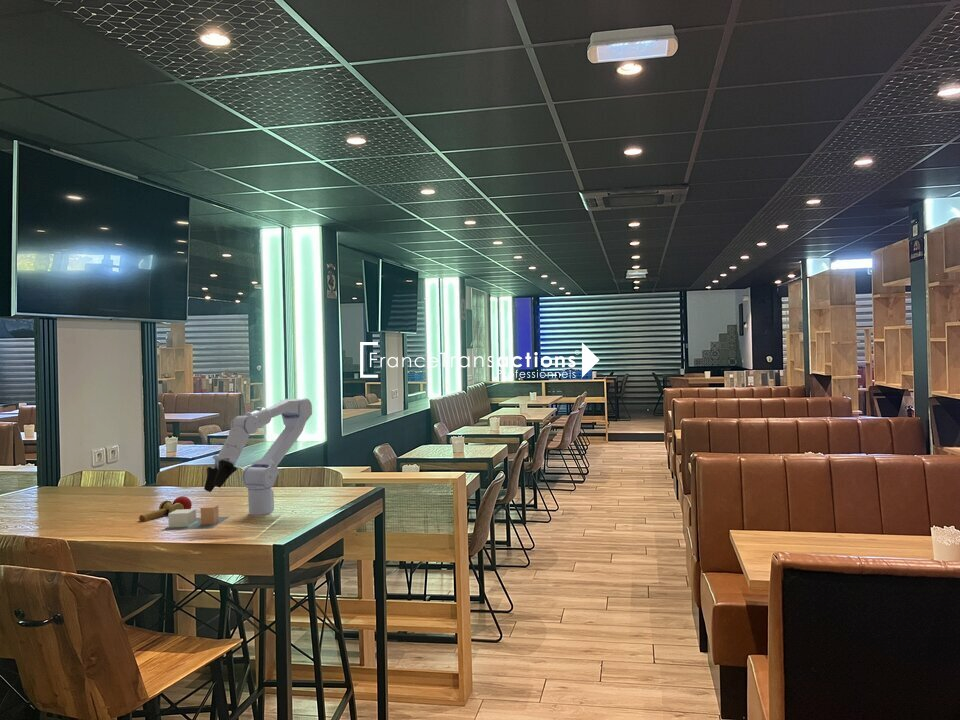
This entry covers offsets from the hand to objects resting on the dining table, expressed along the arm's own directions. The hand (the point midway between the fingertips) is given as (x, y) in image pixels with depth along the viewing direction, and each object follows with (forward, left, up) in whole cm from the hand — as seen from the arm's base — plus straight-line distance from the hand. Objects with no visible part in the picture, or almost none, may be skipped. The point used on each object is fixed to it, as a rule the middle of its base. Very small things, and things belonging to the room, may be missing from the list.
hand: (212, 488), depth 217 cm
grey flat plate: (-6, -7, -12) cm, 15 cm away
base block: (-5, -11, -12) cm, 17 cm away
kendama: (-20, -22, -13) cm, 32 cm away
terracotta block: (-6, -3, -12) cm, 13 cm away
